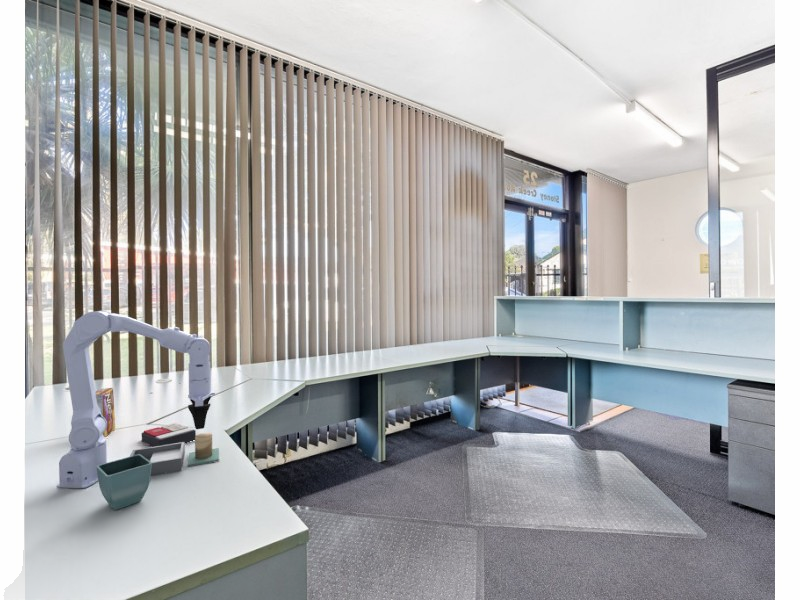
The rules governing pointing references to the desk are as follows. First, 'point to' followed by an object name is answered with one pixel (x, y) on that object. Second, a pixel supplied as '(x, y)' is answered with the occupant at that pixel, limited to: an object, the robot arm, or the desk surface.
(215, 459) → the mat
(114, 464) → the flower pot
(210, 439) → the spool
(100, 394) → the candy box
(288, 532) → the desk surface
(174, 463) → the organiser box
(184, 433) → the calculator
